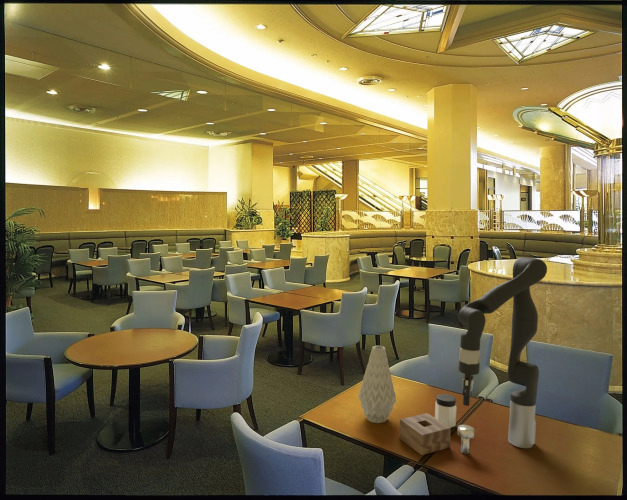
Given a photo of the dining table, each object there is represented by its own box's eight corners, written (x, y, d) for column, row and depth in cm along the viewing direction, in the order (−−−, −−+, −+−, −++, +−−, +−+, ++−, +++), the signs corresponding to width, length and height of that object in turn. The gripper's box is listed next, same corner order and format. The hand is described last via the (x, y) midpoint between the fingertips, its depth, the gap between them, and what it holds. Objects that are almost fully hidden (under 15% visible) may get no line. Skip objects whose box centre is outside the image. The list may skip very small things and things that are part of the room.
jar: (457, 428, 190) (459, 401, 189) (439, 428, 190) (440, 401, 189) (450, 419, 199) (451, 393, 198) (432, 419, 199) (433, 393, 198)
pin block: (426, 431, 187) (427, 413, 187) (449, 447, 175) (450, 427, 174) (399, 438, 181) (400, 419, 181) (421, 455, 169) (422, 435, 168)
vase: (378, 431, 186) (381, 355, 183) (350, 417, 199) (352, 346, 196) (403, 420, 197) (405, 348, 194) (375, 407, 210) (376, 339, 207)
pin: (464, 446, 176) (466, 423, 175) (476, 454, 170) (477, 430, 169) (453, 449, 173) (454, 426, 172) (464, 457, 168) (465, 433, 167)
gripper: (461, 353, 177) (459, 392, 178) (456, 363, 164) (454, 406, 165) (481, 356, 173) (479, 396, 175) (478, 367, 160) (476, 410, 162)
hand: (467, 401), depth 170 cm, fingers open, 8 cm apart
